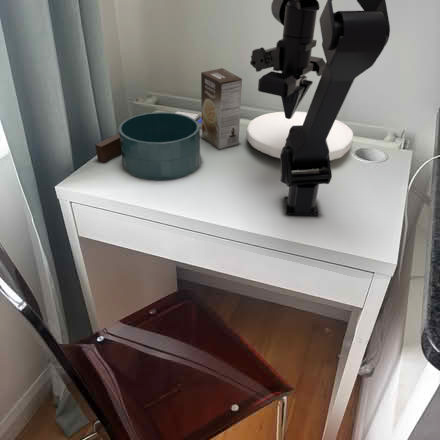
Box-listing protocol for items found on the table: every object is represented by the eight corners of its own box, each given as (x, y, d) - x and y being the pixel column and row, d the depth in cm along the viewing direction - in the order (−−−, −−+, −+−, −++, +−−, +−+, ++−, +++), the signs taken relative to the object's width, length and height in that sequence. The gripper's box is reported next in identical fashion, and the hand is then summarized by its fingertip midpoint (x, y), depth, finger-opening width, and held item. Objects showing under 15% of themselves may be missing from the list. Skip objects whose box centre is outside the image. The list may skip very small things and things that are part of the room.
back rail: (147, 139, 117) (146, 124, 114) (104, 162, 107) (101, 146, 104) (141, 138, 118) (139, 122, 115) (97, 160, 108) (95, 144, 105)
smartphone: (200, 114, 129) (179, 133, 118) (200, 116, 130) (180, 135, 119) (176, 110, 131) (154, 129, 120) (176, 113, 131) (154, 131, 121)
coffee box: (200, 136, 119) (199, 71, 108) (220, 132, 122) (222, 67, 111) (219, 149, 113) (220, 82, 103) (240, 144, 116) (243, 77, 105)
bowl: (196, 181, 101) (196, 144, 95) (116, 178, 101) (110, 142, 96) (202, 147, 114) (202, 113, 109) (131, 145, 115) (127, 111, 109)
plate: (245, 106, 123) (343, 109, 123) (244, 130, 127) (339, 133, 127) (249, 137, 100) (369, 140, 100) (247, 165, 104) (363, 169, 104)
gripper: (282, 20, 94) (274, 98, 104) (235, 37, 82) (232, 123, 92) (332, 27, 89) (319, 108, 100) (291, 47, 78) (281, 136, 88)
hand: (288, 118), depth 95 cm, fingers closed
